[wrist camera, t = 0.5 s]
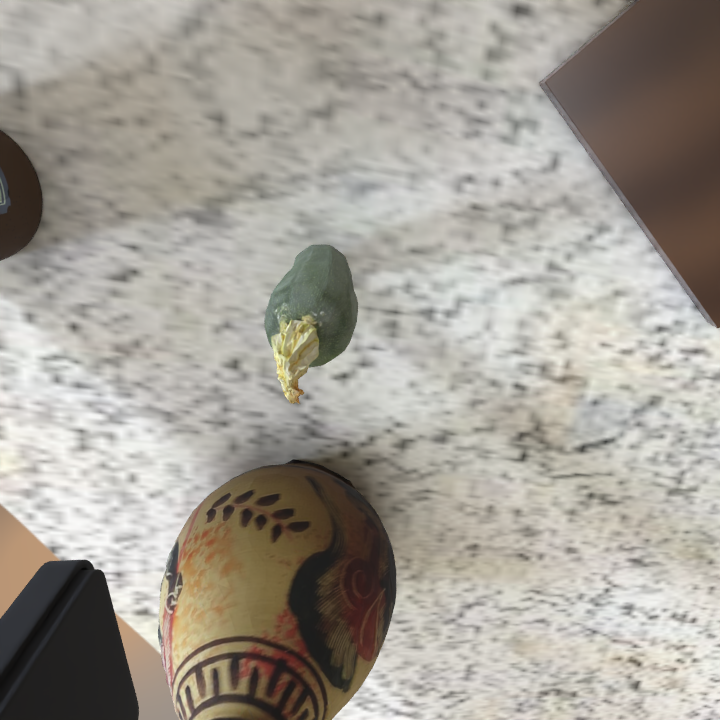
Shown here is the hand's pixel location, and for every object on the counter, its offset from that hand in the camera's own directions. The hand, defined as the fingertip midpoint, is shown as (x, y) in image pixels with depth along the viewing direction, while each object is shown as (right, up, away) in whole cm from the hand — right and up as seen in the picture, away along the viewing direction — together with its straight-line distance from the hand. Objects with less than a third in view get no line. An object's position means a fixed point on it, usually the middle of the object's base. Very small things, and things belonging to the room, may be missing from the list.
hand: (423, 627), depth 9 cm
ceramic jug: (-6, -9, +41) cm, 43 cm away
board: (+21, +17, +31) cm, 41 cm away
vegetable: (-3, +11, +34) cm, 36 cm away
